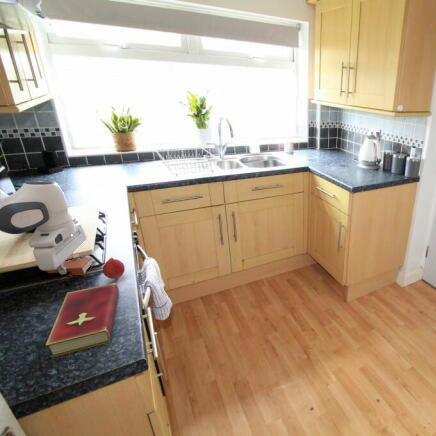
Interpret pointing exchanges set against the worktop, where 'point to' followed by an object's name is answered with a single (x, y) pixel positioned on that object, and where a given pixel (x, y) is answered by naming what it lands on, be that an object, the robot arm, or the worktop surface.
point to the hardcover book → (84, 320)
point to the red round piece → (113, 268)
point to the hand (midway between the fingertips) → (70, 266)
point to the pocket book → (76, 266)
